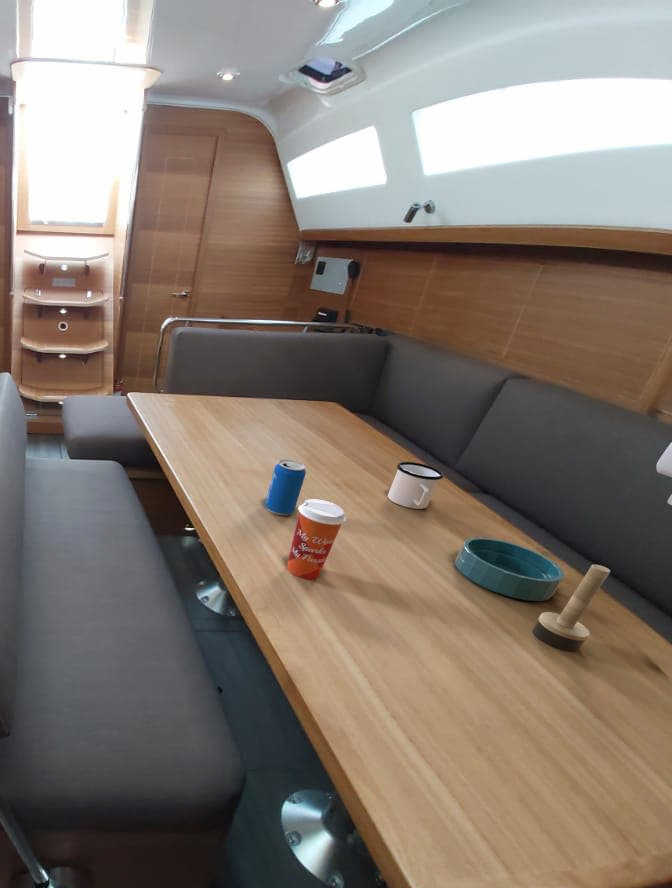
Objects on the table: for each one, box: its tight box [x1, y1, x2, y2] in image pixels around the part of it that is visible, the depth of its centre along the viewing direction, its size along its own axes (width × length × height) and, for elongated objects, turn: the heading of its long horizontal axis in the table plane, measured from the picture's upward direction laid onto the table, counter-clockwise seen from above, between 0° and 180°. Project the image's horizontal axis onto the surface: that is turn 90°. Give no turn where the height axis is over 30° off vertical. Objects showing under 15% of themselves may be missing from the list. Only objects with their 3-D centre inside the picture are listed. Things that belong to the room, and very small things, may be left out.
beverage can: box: [264, 459, 307, 516], centre depth 116 cm, size 6×6×12 cm
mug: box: [387, 461, 445, 510], centre depth 122 cm, size 12×10×9 cm
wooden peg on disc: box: [532, 564, 611, 653], centre depth 79 cm, size 6×6×14 cm
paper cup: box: [286, 498, 347, 580], centre depth 93 cm, size 8×8×14 cm
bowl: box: [454, 536, 565, 602], centre depth 95 cm, size 14×14×5 cm
